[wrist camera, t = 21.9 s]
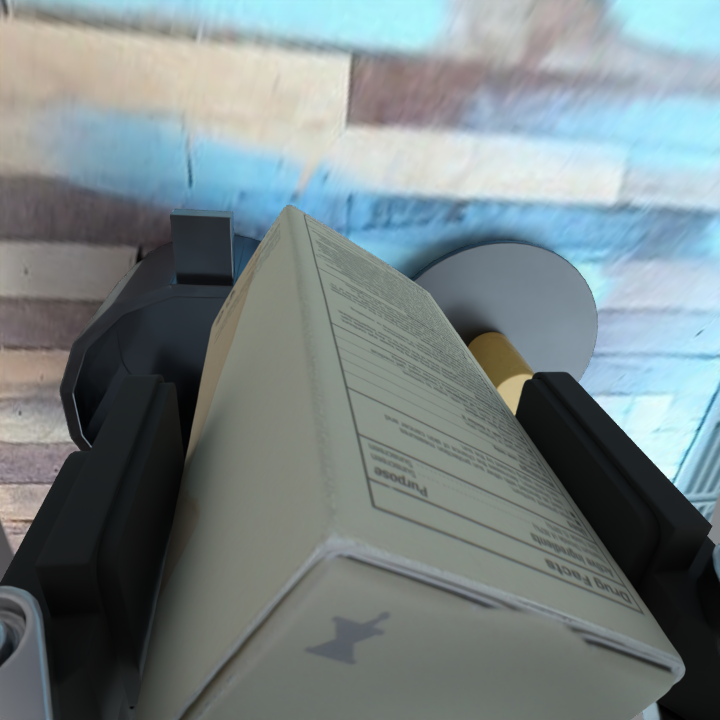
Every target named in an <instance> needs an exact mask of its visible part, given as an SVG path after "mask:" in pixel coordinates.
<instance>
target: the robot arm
mask: <svg viewBox="0 0 720 720" xmlns="http://www.w3.org/2000/svg"><path fill="white" fill-rule="evenodd" d="M515 417H516V419H517V420H518V422H519V423H520V424H521V426H522V427H523V429H524V430H525V432H526V433H527V434H528V436H529V437H530V439H531V440H532V442H533V443H534V445H535V446H536V448H537V449H538V450H539V452H540V453H541V455H542V456H543V458H544V459H545V461H546V462H547V463H548V465H549V466H550V468H551V469H552V471H553V472H554V473H555V475H556V476H557V478H558V479H559V480H560V482H561V483H562V485H563V486H564V488H565V489H566V491H567V492H568V494H569V495H570V497H571V498H572V500H573V501H574V503H575V504H576V505H577V507H578V508H579V510H580V511H581V513H582V514H583V515H584V517H585V518H586V520H587V521H588V522H589V524H590V525H591V527H592V528H593V530H594V531H595V533H596V534H597V536H598V537H599V538H600V540H601V541H602V543H603V544H604V546H605V547H606V549H607V550H608V552H609V553H610V554H611V556H612V557H613V559H614V560H615V562H616V563H617V564H618V566H619V567H620V569H621V570H622V571H623V573H624V574H625V576H626V577H627V579H628V580H629V582H630V583H631V585H632V586H633V587H634V589H635V590H636V592H637V593H638V595H639V596H640V598H641V599H642V601H643V602H644V604H645V605H646V606H647V608H648V609H649V611H650V612H651V614H652V615H653V617H654V618H655V620H656V621H657V623H658V624H659V626H660V627H661V629H662V631H663V632H664V634H665V635H666V637H667V638H668V640H669V641H670V642H671V644H672V645H673V647H674V648H675V649H676V651H677V652H678V654H679V655H680V657H681V658H682V661H683V663H684V666H685V669H686V670H685V674H684V676H683V677H682V678H681V680H680V681H679V682H677V683H676V684H674V685H672V687H671V689H670V690H669V691H668V692H667V693H666V694H665V695H664V696H662V697H661V698H660V699H658V700H657V701H656V702H654V703H653V704H651V705H650V706H648V707H647V708H646V709H644V710H643V711H642V715H643V720H720V544H718V545H715V544H714V543H713V542H712V541H711V540H710V539H709V538H708V536H707V535H708V533H709V531H710V530H711V528H712V525H711V524H710V523H709V522H708V521H707V520H706V519H705V518H704V517H703V516H702V515H701V513H700V512H699V511H698V510H697V509H696V508H695V507H694V506H693V505H692V504H691V503H690V502H689V501H688V500H687V499H686V497H685V496H684V495H683V494H682V493H681V492H680V491H679V490H678V489H677V488H676V487H675V486H674V485H673V484H672V483H671V481H670V480H669V479H668V478H667V477H666V476H665V475H664V474H663V473H662V472H661V471H660V470H659V469H658V468H657V467H656V465H655V464H654V463H653V462H652V461H651V460H650V459H649V458H648V457H647V456H646V455H645V454H644V453H643V452H642V450H641V449H640V448H639V447H638V446H637V445H636V444H635V443H634V442H633V441H632V440H631V439H630V438H629V437H628V436H627V434H626V433H625V432H624V431H623V430H622V429H621V428H620V427H619V426H618V425H617V424H616V423H615V422H614V421H613V420H612V418H611V417H610V416H609V415H608V414H607V413H606V412H605V411H604V410H603V409H602V408H601V407H600V406H599V405H598V403H597V402H596V401H595V400H594V399H593V398H592V397H591V396H590V395H589V394H588V393H587V392H586V391H585V390H584V389H583V387H582V386H581V385H580V384H579V383H578V382H577V381H576V380H575V379H574V378H573V377H572V376H571V375H570V374H569V373H568V372H536V373H535V374H534V375H533V376H532V379H528V380H526V381H525V382H524V384H523V387H522V391H521V395H520V399H519V402H518V406H517V410H516V414H515ZM184 465H185V462H184V454H183V445H182V436H181V428H180V419H179V410H178V402H177V393H176V387H175V384H174V383H164V379H163V376H162V375H127V376H126V377H125V379H124V381H123V383H122V385H121V387H120V389H119V391H118V393H117V395H116V398H115V400H114V402H113V404H112V406H111V408H110V410H109V412H108V414H107V416H106V418H105V420H104V422H103V424H102V427H101V429H100V431H99V433H98V435H97V437H96V439H95V441H94V443H93V445H92V447H91V449H90V451H75V452H73V453H71V454H70V455H69V456H68V458H67V459H66V460H65V462H64V464H63V466H62V468H61V470H60V472H59V473H58V475H57V477H56V479H55V481H54V483H53V485H52V487H51V489H50V490H49V492H48V494H47V496H46V498H45V500H44V502H43V504H42V505H41V507H40V509H39V511H38V513H37V515H36V517H35V519H34V520H33V522H32V524H31V526H30V528H29V530H28V532H27V534H26V536H25V537H24V539H23V541H22V543H21V545H20V547H19V549H18V551H17V552H16V554H15V556H14V558H13V560H12V562H11V564H10V566H9V567H8V569H7V571H6V573H5V575H4V577H3V579H2V581H1V582H0V720H134V717H135V712H136V707H137V702H138V697H139V692H140V687H141V682H142V676H143V671H144V666H145V660H146V655H147V650H148V645H149V640H150V635H151V630H152V625H153V619H154V614H155V609H156V604H157V599H158V594H159V589H160V585H161V579H162V574H163V569H164V564H165V559H166V555H167V550H168V545H169V540H170V534H171V529H172V524H173V519H174V514H175V509H176V504H177V499H178V494H179V489H180V484H181V479H182V474H183V470H184Z"/></svg>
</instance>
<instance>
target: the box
mask: <svg viewBox="0 0 720 720" xmlns="http://www.w3.org/2000/svg"><path fill="white" fill-rule="evenodd" d="M685 670H686V669H685V666H684V663H683V661H682V658H681V657H680V655H679V654H678V652H677V651H676V649H675V648H674V647H673V645H672V644H671V642H670V641H669V640H668V638H667V637H666V635H665V634H664V632H663V631H662V629H661V627H660V626H659V624H658V623H657V621H656V620H655V618H654V617H653V615H652V614H651V612H650V611H649V609H648V608H647V606H646V605H645V604H644V602H643V601H642V599H641V598H640V596H639V595H638V593H637V592H636V590H635V589H634V587H633V586H632V585H631V583H630V582H629V580H628V579H627V577H626V576H625V574H624V573H623V571H622V570H621V569H620V567H619V566H618V564H617V563H616V562H615V560H614V559H613V557H612V556H611V554H610V553H609V552H608V550H607V549H606V547H605V546H604V544H603V543H602V541H601V540H600V538H599V537H598V536H597V534H596V533H595V531H594V530H593V528H592V527H591V525H590V524H589V522H588V521H587V520H586V518H585V517H584V515H583V514H582V513H581V511H580V510H579V508H578V507H577V505H576V504H575V503H574V501H573V500H572V498H571V497H570V495H569V494H568V492H567V491H566V489H565V488H564V486H563V485H562V483H561V482H560V480H559V479H558V478H557V476H556V475H555V473H554V472H553V471H552V469H551V468H550V466H549V465H548V463H547V462H546V461H545V459H544V458H543V456H542V455H541V453H540V452H539V450H538V449H537V448H536V446H535V445H534V443H533V442H532V440H531V439H530V437H529V436H528V434H527V433H526V432H525V430H524V429H523V427H522V426H521V424H520V423H519V422H518V420H517V419H516V417H515V416H514V414H513V413H512V412H511V410H510V409H509V407H508V406H507V404H506V403H505V401H504V400H503V398H502V397H501V395H500V394H499V392H498V391H497V389H496V388H495V387H494V385H493V384H492V382H491V381H490V379H489V378H488V376H487V375H486V373H485V372H484V371H483V369H482V368H481V366H480V365H479V363H478V362H477V361H476V359H475V358H474V356H473V355H472V353H471V352H470V350H469V349H468V348H467V346H466V345H465V344H464V342H463V341H462V339H461V338H460V336H459V335H458V333H457V332H456V331H455V329H454V328H453V326H452V325H451V323H450V322H449V321H448V319H447V318H446V316H445V315H444V313H443V312H442V310H441V309H440V307H439V306H438V305H437V303H436V302H435V300H434V299H433V297H432V296H431V295H430V293H428V292H427V291H426V290H425V289H423V288H422V287H420V286H419V285H417V284H416V283H415V282H413V281H412V280H410V279H409V278H408V277H406V276H405V275H403V274H402V273H400V272H399V271H397V270H396V269H394V268H393V267H391V266H390V265H388V264H387V263H385V262H384V261H382V260H380V259H379V258H377V257H376V256H374V255H372V254H371V253H369V252H368V251H366V250H364V249H363V248H361V247H360V246H358V245H356V244H355V243H353V242H352V241H350V240H349V239H347V238H345V237H344V236H342V235H341V234H339V233H338V232H336V231H334V230H333V229H331V228H329V227H328V226H326V225H324V224H323V223H321V222H319V221H317V220H316V219H314V218H313V217H311V216H309V215H308V214H306V213H304V212H302V211H301V210H299V209H298V208H296V207H294V206H292V205H287V206H286V207H285V208H284V209H283V210H282V211H281V213H280V214H279V216H278V217H277V219H276V220H275V222H274V223H273V225H272V226H271V228H270V229H269V231H268V232H267V234H266V235H265V237H264V238H263V240H262V241H261V243H260V244H259V246H258V248H257V249H256V251H255V253H254V254H253V256H252V257H251V259H250V261H249V262H248V264H247V265H246V267H245V269H244V270H243V272H242V274H241V275H240V277H239V279H238V280H237V282H236V284H235V285H234V287H233V289H232V291H231V292H230V294H229V296H228V298H227V299H226V301H225V303H224V305H223V306H222V308H221V310H220V312H219V314H218V316H217V317H216V319H215V321H214V323H213V325H212V328H211V333H210V338H209V343H208V348H207V353H206V358H205V363H204V368H203V373H202V378H201V383H200V389H199V394H198V401H197V405H196V410H195V415H194V420H193V425H192V430H191V436H190V442H189V446H188V451H187V455H186V459H185V465H184V470H183V474H182V479H181V484H180V489H179V494H178V499H177V504H176V509H175V514H174V519H173V524H172V529H171V534H170V540H169V545H168V550H167V555H166V559H165V564H164V569H163V574H162V579H161V585H160V589H159V594H158V599H157V604H156V609H155V614H154V619H153V625H152V630H151V635H150V640H149V645H148V650H147V655H146V660H145V666H144V671H143V676H142V682H141V687H140V692H139V697H138V702H137V707H136V712H135V717H134V720H631V719H632V718H633V717H635V716H636V715H638V714H639V713H640V712H642V711H643V710H644V709H646V708H647V707H648V706H650V705H651V704H653V703H654V702H656V701H657V700H658V699H660V698H661V697H662V696H664V695H665V694H666V693H667V692H668V691H669V690H670V689H671V687H672V685H674V684H676V683H677V682H679V681H680V680H681V678H682V677H683V676H684V674H685Z"/></svg>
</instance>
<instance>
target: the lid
mask: <svg viewBox="0 0 720 720" xmlns="http://www.w3.org/2000/svg"><path fill="white" fill-rule="evenodd" d="M411 280H412V281H413V282H415V283H416V284H417V285H419V286H420V287H422V288H423V289H425V290H426V291H427V292H428V293H430V295H431V296H432V297H433V299H434V300H435V302H436V303H437V305H438V306H439V307H440V309H441V310H442V312H443V313H444V315H445V316H446V318H447V319H448V321H449V322H450V323H451V325H452V326H453V328H454V329H455V331H456V332H457V333H458V335H459V336H460V338H461V339H462V341H463V342H464V344H465V345H466V346H467V348H468V349H469V350H470V352H471V353H472V355H473V356H474V358H475V359H476V361H477V362H478V363H479V365H480V366H481V368H482V369H483V371H484V372H485V373H486V375H487V376H488V378H489V379H490V381H491V382H492V384H493V385H494V387H495V388H496V389H497V391H498V392H499V394H500V395H501V397H502V398H503V400H504V401H505V403H506V404H507V406H508V407H509V409H510V410H511V412H512V413H513V414H514V416H515V414H516V410H517V406H518V402H519V399H520V395H521V391H522V387H523V384H524V382H525V381H526V380H528V379H532V376H533V375H534V374H535V373H536V372H568V373H569V374H570V375H571V376H572V377H573V378H574V379H575V380H576V381H577V382H579V380H580V379H581V377H582V375H583V374H584V372H585V370H586V368H587V366H588V364H589V362H590V359H591V357H592V354H593V350H594V347H595V343H596V337H597V329H598V325H597V311H596V305H595V301H594V298H593V295H592V292H591V290H590V288H589V286H588V284H587V282H586V281H585V279H584V278H583V277H582V275H581V274H580V273H579V271H578V270H577V269H576V268H575V267H574V266H573V265H571V264H570V263H569V262H568V261H567V260H566V259H564V258H563V257H561V256H560V255H558V254H556V253H555V252H553V251H551V250H549V249H547V248H544V247H542V246H540V245H536V244H532V243H528V242H523V241H515V240H494V241H487V242H481V243H476V244H473V245H469V246H466V247H462V248H460V249H458V250H455V251H453V252H450V253H448V254H446V255H444V256H443V257H441V258H439V259H437V260H435V261H434V262H432V263H431V264H429V265H428V266H427V267H425V268H424V269H423V270H421V271H420V272H419V273H418V274H417V275H415V276H414V277H413V278H412V279H411Z"/></svg>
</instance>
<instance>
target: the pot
mask: <svg viewBox="0 0 720 720" xmlns="http://www.w3.org/2000/svg"><path fill="white" fill-rule="evenodd" d="M170 219H171V230H172V240H173V241H172V242H170V243H168V244H165V245H163V246H161V247H159V248H157V249H156V250H153V251H151V252H149V253H148V254H147V255H146V256H145V257H144V258H143V259H142V260H140V261H139V262H138V263H137V264H136V265H135V266H134V267H133V268H132V269H131V270H130V272H129V273H127V274H126V275H125V276H124V277H123V278H122V279H121V280H120V281H119V282H118V284H117V285H116V286H115V288H114V289H113V290H112V292H111V293H110V294H109V296H108V297H107V298H106V300H105V301H104V302H103V304H102V305H101V306H100V308H99V309H98V310H97V312H96V313H95V315H94V316H93V317H92V319H91V320H90V321H89V323H88V324H87V325H86V327H85V328H84V329H83V331H82V332H81V333H80V335H79V336H78V337H77V339H76V340H75V341H74V343H73V345H72V348H71V352H70V355H69V359H68V362H67V365H66V369H65V372H64V376H63V379H62V383H61V386H60V396H61V400H62V404H63V409H64V413H65V417H66V421H67V425H68V430H69V434H70V437H71V439H72V440H73V441H74V443H75V444H76V445H77V446H78V448H79V449H80V450H81V451H90V449H91V447H92V445H93V443H94V441H95V439H96V437H97V435H98V433H99V431H100V429H101V427H102V424H103V422H104V420H105V418H106V416H107V414H108V412H109V410H110V408H111V406H112V404H113V402H114V400H115V398H116V395H117V393H118V391H119V389H120V387H121V385H122V383H123V381H124V379H125V377H126V376H127V375H162V376H163V379H164V383H174V384H175V387H176V393H177V402H178V410H179V419H180V428H181V436H182V445H183V454H184V462H185V459H186V455H187V451H188V446H189V442H190V436H191V430H192V425H193V420H194V415H195V410H196V405H197V401H198V394H199V389H200V383H201V378H202V373H203V368H204V363H205V358H206V353H207V348H208V343H209V338H210V333H211V328H212V325H213V323H214V321H215V319H216V317H217V316H218V314H219V312H220V310H221V308H222V306H223V305H224V303H225V301H226V299H227V298H228V296H229V294H230V292H231V291H232V289H233V287H234V285H235V284H236V282H237V280H238V279H239V277H240V275H241V274H242V272H243V270H244V269H245V267H246V265H247V264H248V262H249V261H250V259H251V257H252V256H253V254H254V253H255V251H256V249H257V248H258V246H259V244H260V243H261V242H260V241H257V240H255V239H251V238H247V237H242V236H238V235H234V221H233V212H229V211H209V210H189V209H174V211H173V212H172V213H171V215H170Z"/></svg>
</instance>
